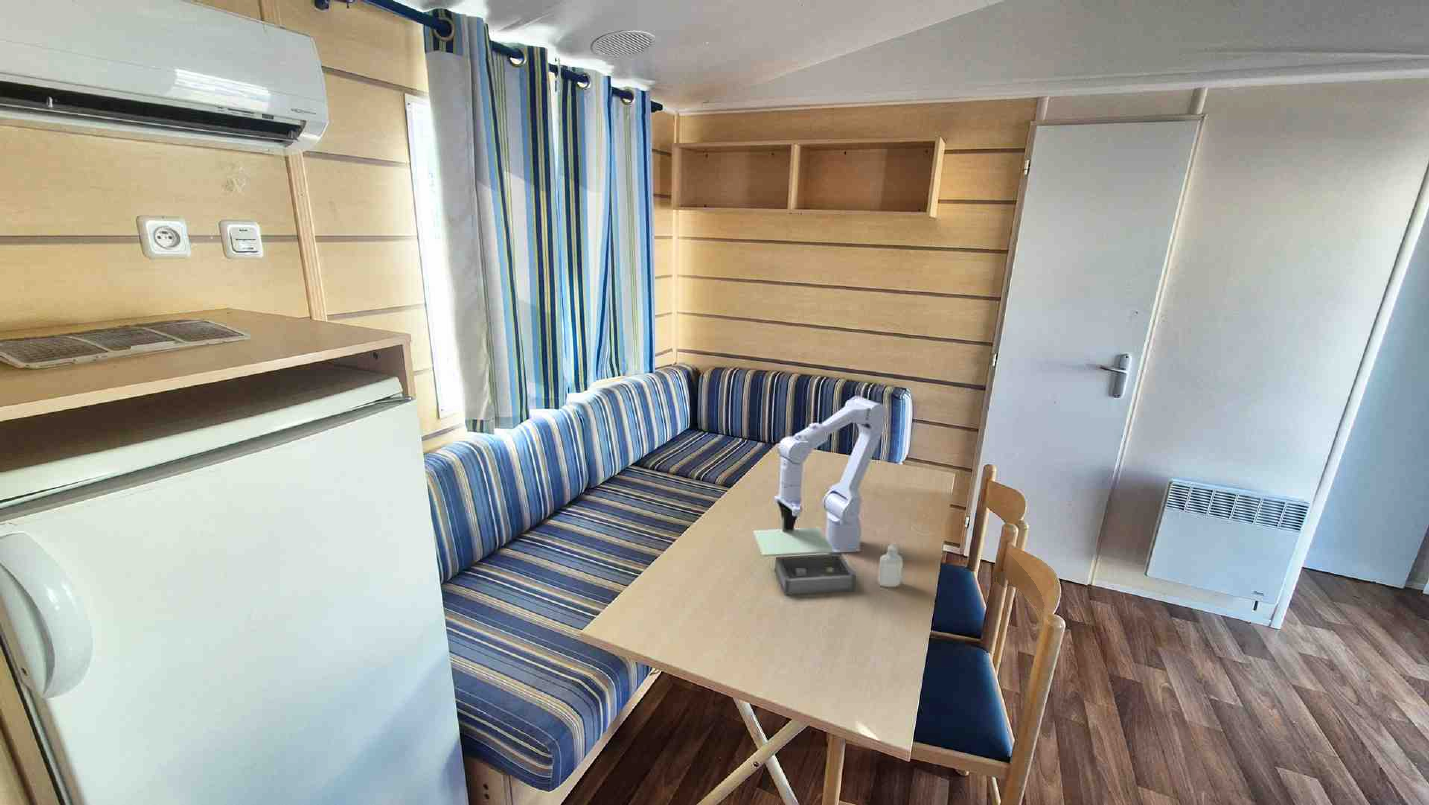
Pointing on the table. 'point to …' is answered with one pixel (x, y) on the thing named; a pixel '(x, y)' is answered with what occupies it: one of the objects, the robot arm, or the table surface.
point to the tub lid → (792, 541)
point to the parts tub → (814, 574)
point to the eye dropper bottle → (890, 568)
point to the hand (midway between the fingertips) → (787, 527)
